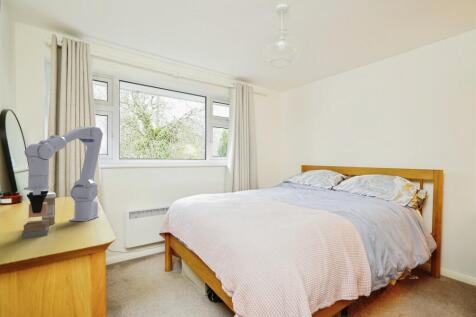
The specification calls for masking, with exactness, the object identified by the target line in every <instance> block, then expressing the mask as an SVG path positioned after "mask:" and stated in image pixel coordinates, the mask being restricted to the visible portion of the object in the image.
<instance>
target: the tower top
mask: <svg viewBox="0 0 476 317" xmlns="http://www.w3.org/2000/svg"><path fill="white" fill-rule="evenodd" d="M48 226H49V227H50V225H49V220H42V219H40V220H39V219H37V220H29V221H27V222H26V223H25V224H24V225H23V231H24V232H33V231H42V230H46V229H47V227H48Z"/></svg>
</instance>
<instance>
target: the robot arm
mask: <svg viewBox="0 0 476 317" xmlns="http://www.w3.org/2000/svg"><path fill="white" fill-rule="evenodd" d="M103 136H104V133H103V131H102V129H101V128H100V127H99V126H96V125H95V126H81V125H80V126H76V127H73V129H71V130H70V131H68V132H66V133H65V134H62V135H54V134H51V135H50V136H49V138H46V139H44V140H43V139H42V140H40V141H39V142H38V143H31V144H29V145H28V146H27V147H26V149H25V150H24V152H23V153H24V155H25V157H26V158H27V162H28V173H27V174H28V177H27V178H28V179H27V180H28V181H27V186H26V187H23V190H24V191H27V190H28V191H29V192H28V193H27V194H26V198H28V201H29V204H30V203H31V207H32V211H33V213H41V210H42V206H43V202H44V200H45V198H46V196H47V193H49V188H50V187H49V177H50V176H49V172H50V170H49V169H50V168H49V167H50V159H51V158H52V157H53V156H54V154H55V153H57V152H58V151H61V150H63V149H65V148H66V147H67V144H68V143H71V142H72V141H75V140H77V139H78V140H79V141H80V143H82V144H83V145H84V146H86V152H85V155H84V161H83V163H82V168H81V172H80V177H79V179H78V180H76V181H75V182H74V183H73V186H72V188H71V189H70V193H69V194H70V198H71V199H72V200H73V201H74V209H73V210H74V212H73V218H70V219H68V221H71V222H87V221H91V220H93V219H96V218H100V215H99V203H98V201H97V200H96V198H97V197H98V194H99V193H98V187H99V186H98V184H97V183H96V181H94V178H95V174H96V169H97V165H98V160H99V155H100V151H101V146H102V145H101V144H102V140H103Z"/></svg>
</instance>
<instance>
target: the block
mask: <svg viewBox="0 0 476 317" xmlns="http://www.w3.org/2000/svg"><path fill="white" fill-rule="evenodd" d="M42 216H47V202H43V206H42V210H41V213H33V211H32V207H31V203H30V202H29V204H28V217H27V218H30V219H31V218H39V217H41V218H42Z"/></svg>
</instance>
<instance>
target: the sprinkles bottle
mask: <svg viewBox="0 0 476 317" xmlns="http://www.w3.org/2000/svg"><path fill="white" fill-rule="evenodd" d="M56 194H57V193H56V192H48V193H47V196H46V198H45V200H44V202H47V216H41V220H49V226H51V225H54V224H56V197H57V196H56Z"/></svg>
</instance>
